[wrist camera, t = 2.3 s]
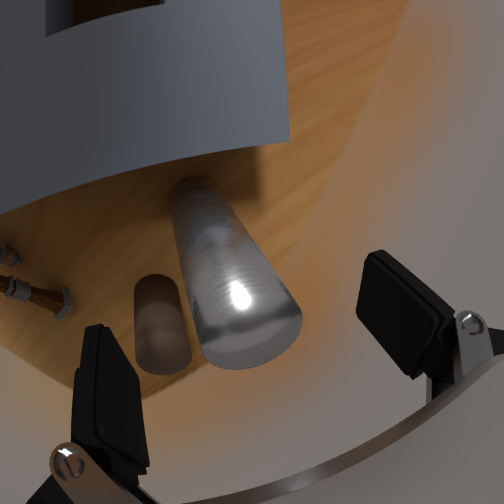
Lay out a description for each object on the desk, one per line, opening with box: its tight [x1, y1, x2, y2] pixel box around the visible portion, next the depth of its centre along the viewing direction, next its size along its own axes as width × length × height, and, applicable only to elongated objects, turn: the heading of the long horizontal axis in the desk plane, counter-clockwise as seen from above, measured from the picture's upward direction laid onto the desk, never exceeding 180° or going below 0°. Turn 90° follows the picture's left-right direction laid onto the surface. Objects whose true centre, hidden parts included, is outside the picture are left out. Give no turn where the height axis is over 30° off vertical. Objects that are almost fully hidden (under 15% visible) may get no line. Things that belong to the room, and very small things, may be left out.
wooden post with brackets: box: [0, 243, 71, 321], centre depth 14 cm, size 2×8×4 cm, turn 34°
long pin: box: [169, 177, 303, 370], centre depth 13 cm, size 3×3×11 cm
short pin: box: [134, 274, 192, 375], centre depth 17 cm, size 3×3×6 cm
